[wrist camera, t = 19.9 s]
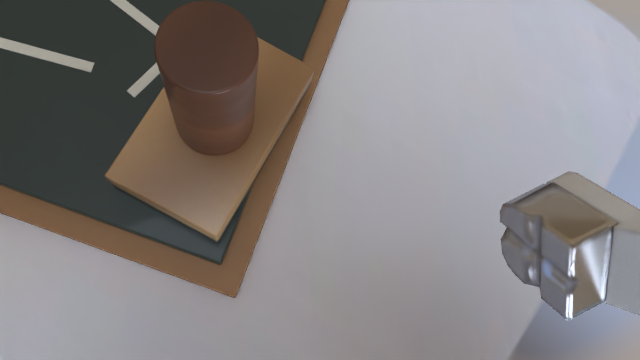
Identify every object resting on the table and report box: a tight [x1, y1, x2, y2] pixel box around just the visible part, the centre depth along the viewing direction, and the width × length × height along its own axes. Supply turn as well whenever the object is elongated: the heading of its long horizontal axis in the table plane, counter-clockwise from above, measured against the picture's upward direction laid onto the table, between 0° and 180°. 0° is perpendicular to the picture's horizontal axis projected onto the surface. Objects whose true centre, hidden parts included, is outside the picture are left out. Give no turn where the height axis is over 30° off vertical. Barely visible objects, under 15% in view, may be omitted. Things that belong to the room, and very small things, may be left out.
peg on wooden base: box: [105, 1, 315, 243], centre depth 20 cm, size 5×8×8 cm, turn 152°
